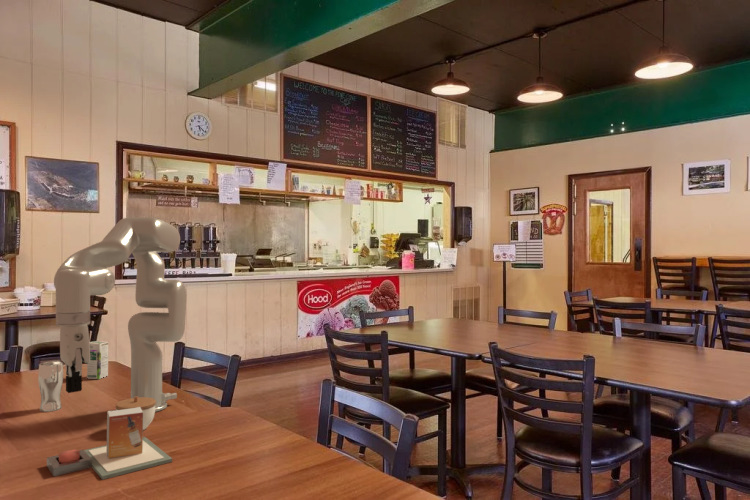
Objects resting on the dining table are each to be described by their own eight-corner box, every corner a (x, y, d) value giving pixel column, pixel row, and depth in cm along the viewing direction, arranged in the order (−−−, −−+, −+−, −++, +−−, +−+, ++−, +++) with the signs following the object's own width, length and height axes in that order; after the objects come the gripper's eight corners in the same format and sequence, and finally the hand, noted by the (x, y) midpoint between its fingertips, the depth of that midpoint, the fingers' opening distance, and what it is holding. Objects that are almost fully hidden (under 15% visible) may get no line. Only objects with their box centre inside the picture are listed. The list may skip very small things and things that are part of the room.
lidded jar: (146, 420, 164) (147, 389, 164) (161, 429, 156) (161, 397, 156) (109, 428, 157) (110, 396, 157) (123, 437, 149) (123, 404, 149)
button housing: (83, 457, 135) (83, 449, 135) (91, 467, 129) (91, 459, 129) (46, 465, 129) (46, 457, 129) (53, 476, 123) (53, 467, 123)
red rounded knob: (77, 459, 132) (77, 448, 132) (81, 465, 129) (81, 453, 129) (56, 464, 129) (56, 452, 129) (60, 469, 126) (61, 458, 126)
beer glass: (33, 410, 172) (33, 364, 172) (53, 404, 179) (53, 360, 179) (48, 413, 170) (48, 366, 170) (67, 407, 176) (68, 362, 176)
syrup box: (86, 379, 214) (86, 342, 214) (96, 375, 220) (96, 340, 220) (99, 379, 213) (99, 343, 213) (108, 376, 219) (109, 340, 219)
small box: (107, 459, 131) (108, 416, 131) (106, 451, 136) (106, 410, 136) (143, 453, 135) (143, 412, 135) (140, 446, 140) (140, 406, 140)
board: (144, 439, 148) (145, 436, 148) (172, 461, 133) (172, 457, 133) (80, 453, 137) (80, 450, 137) (102, 479, 122) (102, 475, 122)
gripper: (98, 320, 131) (98, 395, 131) (82, 313, 142) (82, 382, 142) (63, 324, 126) (64, 401, 126) (49, 316, 137) (50, 387, 137)
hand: (73, 391), depth 134 cm, fingers closed
